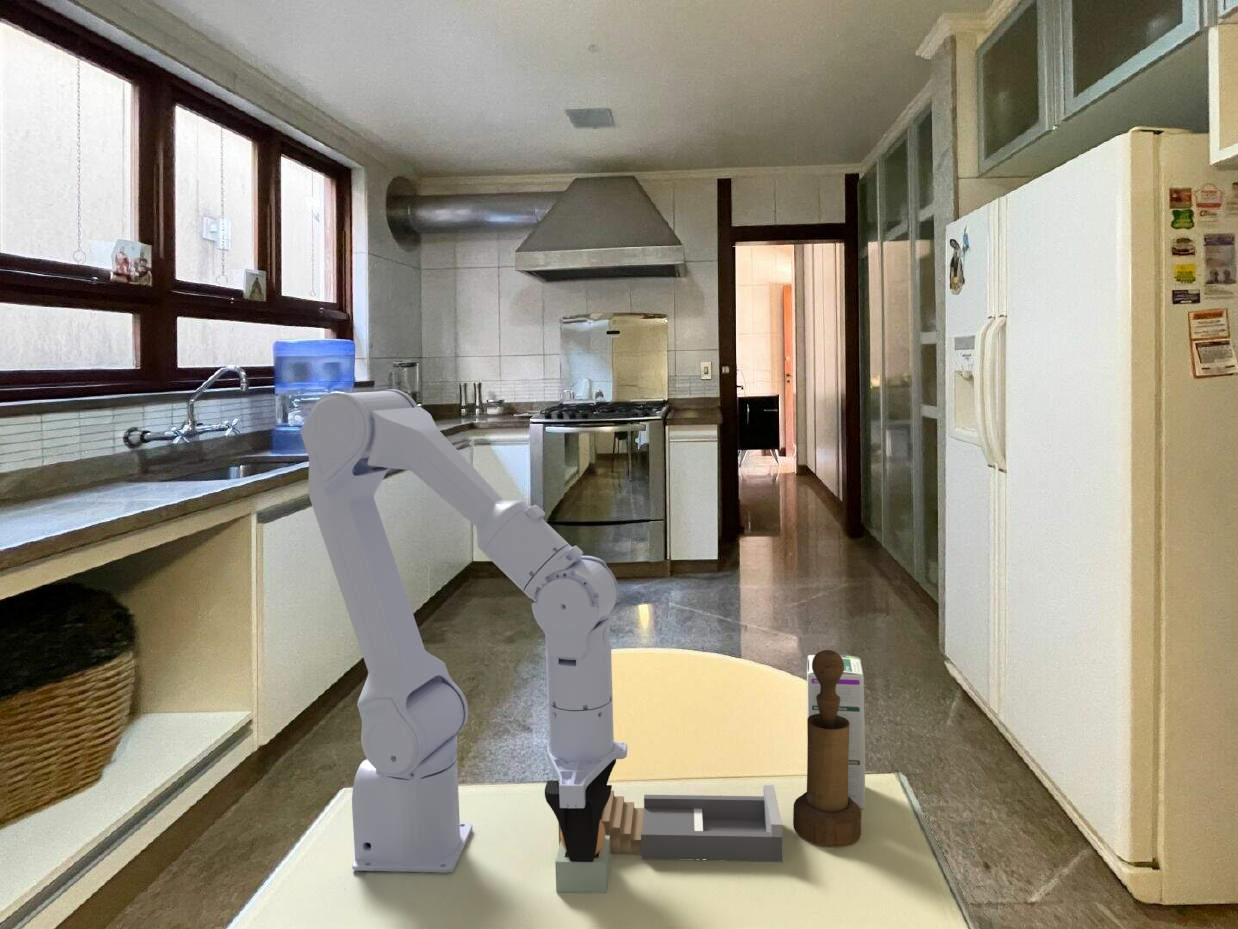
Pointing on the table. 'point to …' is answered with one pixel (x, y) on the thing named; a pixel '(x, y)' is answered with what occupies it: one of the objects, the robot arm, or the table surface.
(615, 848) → the staircase
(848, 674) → the syrup box
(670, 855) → the lane
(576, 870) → the hollow square container
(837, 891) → the table surface
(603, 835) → the ball
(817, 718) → the mortar and pestle
